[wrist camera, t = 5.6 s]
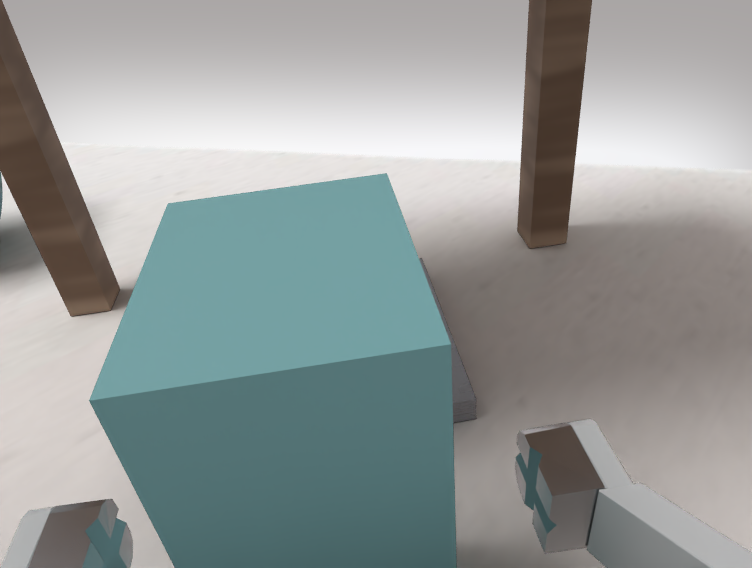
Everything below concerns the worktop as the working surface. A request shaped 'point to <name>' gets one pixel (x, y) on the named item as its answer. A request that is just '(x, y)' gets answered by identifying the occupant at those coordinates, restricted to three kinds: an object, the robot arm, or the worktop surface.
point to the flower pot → (0, 194)
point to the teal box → (286, 384)
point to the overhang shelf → (80, 239)
